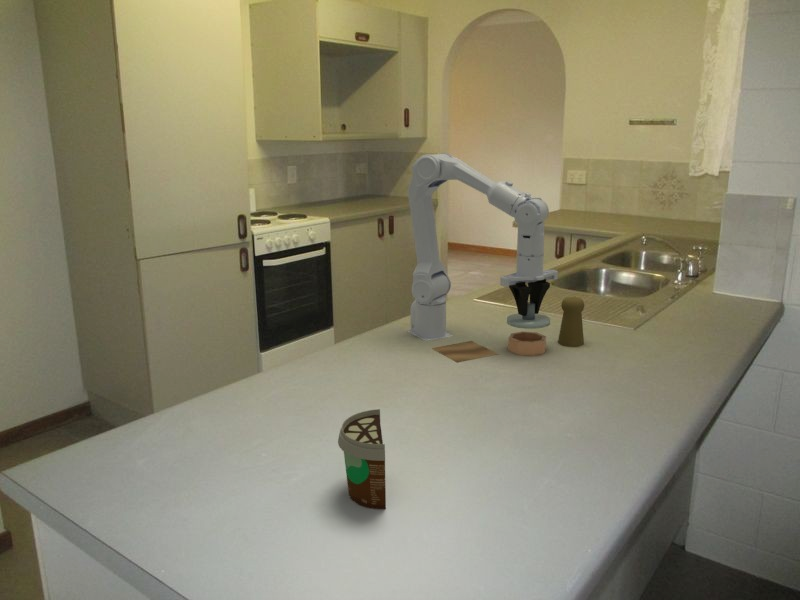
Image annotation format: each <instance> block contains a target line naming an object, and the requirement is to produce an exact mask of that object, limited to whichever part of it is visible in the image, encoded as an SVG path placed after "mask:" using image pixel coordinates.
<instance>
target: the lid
mask: <svg viewBox="0 0 800 600" xmlns="http://www.w3.org/2000/svg"><path fill="white" fill-rule="evenodd" d="M506 324H507V325H508V326H510V327H513V328H518V329H528V330H529V329H530V330H533V329H534V330H535V329H543V328H546V327H549V326H550V325H551V318H550V317H549V316H547V315H544V314H541V313H538V314H535V303H533V302H530V301H528V306H527V315H526V316H522V315H520V314H518V313H514V314H509V315H508V316H507V317H506Z"/></svg>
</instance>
